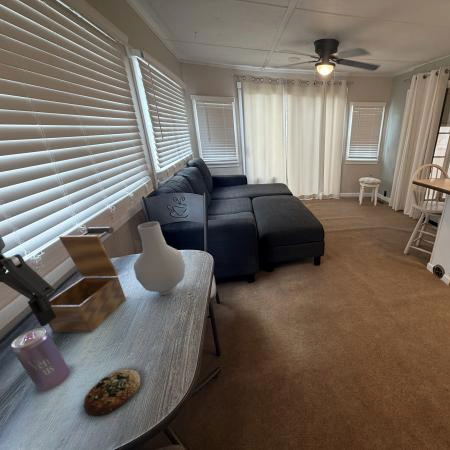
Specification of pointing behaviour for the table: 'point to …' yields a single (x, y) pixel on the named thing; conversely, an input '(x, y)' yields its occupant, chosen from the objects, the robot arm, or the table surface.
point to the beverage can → (40, 358)
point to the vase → (158, 261)
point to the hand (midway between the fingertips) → (19, 322)
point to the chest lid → (90, 252)
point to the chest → (86, 304)
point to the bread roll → (111, 392)
